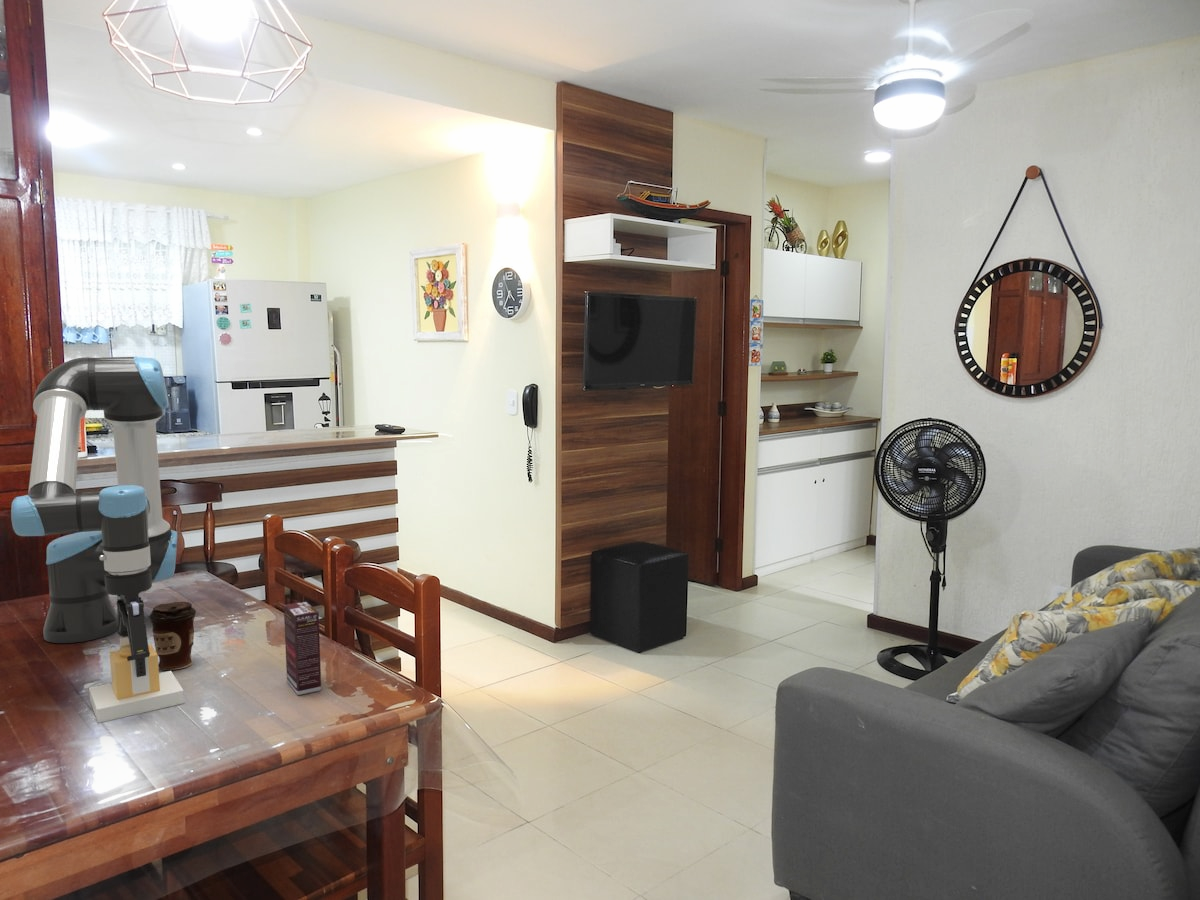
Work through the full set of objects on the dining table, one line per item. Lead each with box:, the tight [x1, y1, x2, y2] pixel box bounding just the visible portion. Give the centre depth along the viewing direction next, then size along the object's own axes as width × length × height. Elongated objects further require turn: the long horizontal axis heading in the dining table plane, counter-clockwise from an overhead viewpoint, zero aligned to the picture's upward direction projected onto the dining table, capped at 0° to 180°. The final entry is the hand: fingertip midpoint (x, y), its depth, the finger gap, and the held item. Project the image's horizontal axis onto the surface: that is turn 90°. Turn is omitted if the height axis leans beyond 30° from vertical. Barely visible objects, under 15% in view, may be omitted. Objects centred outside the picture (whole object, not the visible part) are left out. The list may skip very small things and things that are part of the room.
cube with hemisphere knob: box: [109, 643, 160, 700], centre depth 157 cm, size 7×7×8 cm
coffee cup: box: [149, 601, 197, 671], centre depth 175 cm, size 9×8×13 cm
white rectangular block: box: [88, 670, 185, 724], centre depth 157 cm, size 12×14×8 cm
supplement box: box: [283, 601, 322, 696], centre depth 164 cm, size 9×5×16 cm, turn 34°
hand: (135, 680), depth 157 cm, fingers open, 13 cm apart
